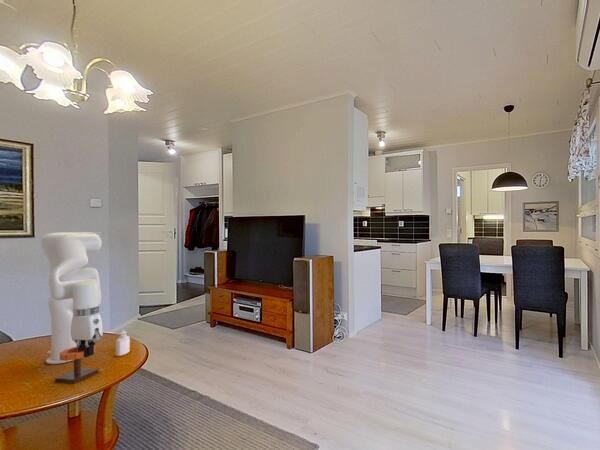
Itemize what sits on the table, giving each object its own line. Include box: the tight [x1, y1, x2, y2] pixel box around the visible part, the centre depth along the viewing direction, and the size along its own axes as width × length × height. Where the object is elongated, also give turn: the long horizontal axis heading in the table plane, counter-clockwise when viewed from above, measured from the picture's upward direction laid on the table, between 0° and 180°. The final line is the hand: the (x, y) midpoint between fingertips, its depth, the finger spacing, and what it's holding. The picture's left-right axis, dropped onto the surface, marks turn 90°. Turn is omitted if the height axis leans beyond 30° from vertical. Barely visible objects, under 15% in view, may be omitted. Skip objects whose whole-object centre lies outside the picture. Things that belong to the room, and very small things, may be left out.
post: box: [54, 358, 100, 384], centre depth 127 cm, size 9×9×10 cm
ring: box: [60, 345, 96, 362], centre depth 127 cm, size 10×10×2 cm
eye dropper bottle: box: [115, 329, 131, 357], centre depth 150 cm, size 4×6×12 cm
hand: (86, 355), depth 127 cm, fingers closed on ring, 2 cm apart
